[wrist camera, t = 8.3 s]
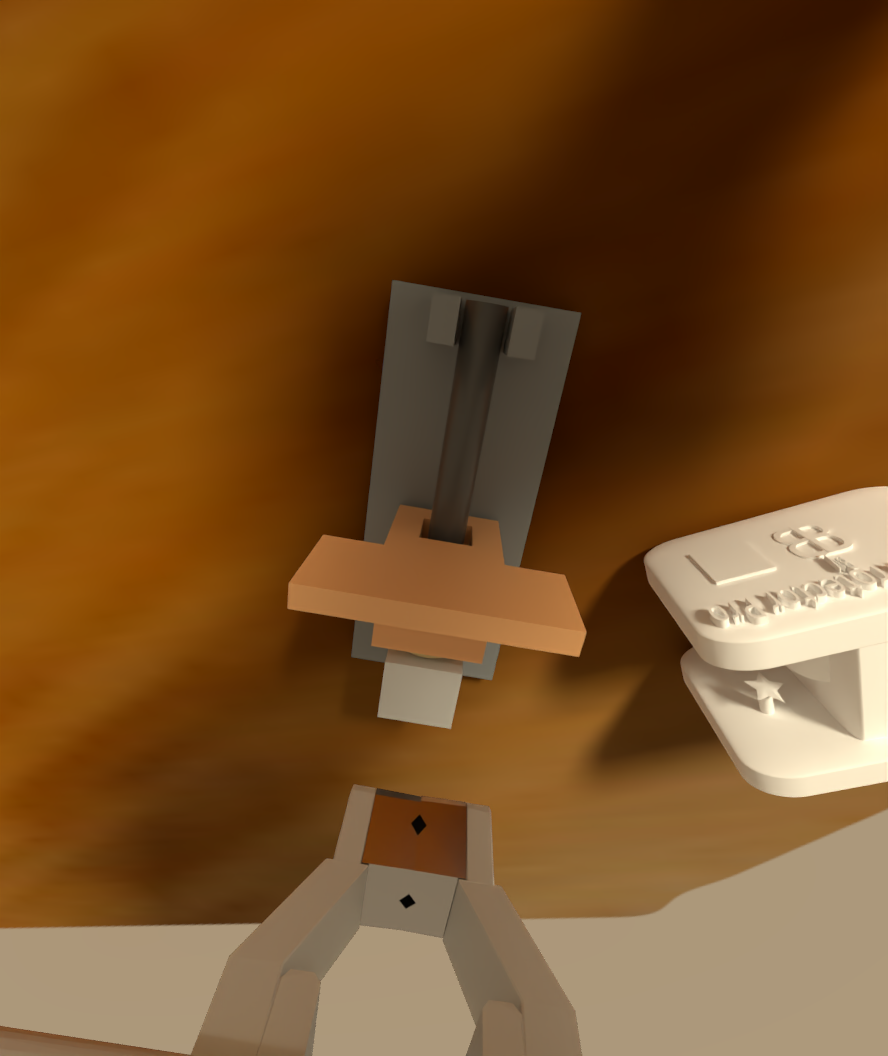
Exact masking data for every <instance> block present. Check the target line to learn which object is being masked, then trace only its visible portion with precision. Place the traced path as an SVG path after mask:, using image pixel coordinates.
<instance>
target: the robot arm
mask: <svg viewBox="0 0 888 1056" xmlns="http://www.w3.org/2000/svg"><path fill="white" fill-rule="evenodd" d="M359 925H363V926H372V927H380V928H388V929H396V930H403V931H408V932H414V933H419V934H424V935H429V936H435V937H440V938H443V942H444V945H445V948H446V950H447V953H448V955H449V958H450V960H451V963H452V966H453V968H454V971H455V973H456V976H457V978H458V981H459V983H460V986H461V989H462V991H463V994H464V996H465V999H466V1002H467V1004H468V1006H469V1009H470V1012H471V1014H472V1017H473V1020H474V1022H475V1025H476V1029H475V1031H474V1034H473V1037H472V1040H471V1043H470V1045H469V1048H468V1051H467V1054H466V1056H582V1052H581V1046H580V1039H579V1033H578V1026H577V1019H576V1013H575V1010H574V1008H573V1006H572V1005H571V1003H570V1001H569V1000H568V998H567V996H566V995H565V993H564V991H563V990H562V988H561V986H560V985H559V983H558V981H557V980H556V978H555V976H554V974H553V973H552V971H551V969H550V968H549V966H548V964H547V963H546V961H545V959H544V958H543V956H542V954H541V952H540V951H539V949H538V947H537V946H536V944H535V942H534V941H533V939H532V937H531V936H530V934H529V932H528V930H527V929H526V927H525V926H524V924H523V922H522V920H521V919H520V917H519V915H518V914H517V912H516V910H515V909H514V907H513V905H512V903H511V902H510V900H509V898H508V897H507V895H506V893H505V892H504V890H503V888H502V887H501V886H498V885H494V869H493V846H492V824H491V810H490V808H489V806H483V805H477V804H471V803H465V802H461V801H455V800H448V799H441V798H434V797H427V796H421V797H420V796H415V795H410V794H404V793H399V792H394V791H389V790H383V789H378V788H377V790H376V788H372V787H366V786H361V785H355V784H354V785H353V787H352V790H351V792H350V796H349V800H348V804H347V807H346V811H345V815H344V819H343V823H342V827H341V831H340V834H339V838H338V842H337V846H336V850H335V854H334V858H333V859H328V858H326V859H325V860H324V861H323V862H322V863H321V864H320V865H319V866H318V867H317V868H316V869H315V870H314V871H313V872H312V873H311V874H310V875H309V876H308V877H307V878H306V879H305V880H304V881H303V882H302V883H301V884H300V885H299V886H298V887H297V888H296V889H295V890H294V891H293V892H292V893H291V894H290V895H289V896H288V897H287V898H286V899H285V900H284V901H283V902H282V903H281V904H280V905H279V906H278V907H277V908H276V909H275V910H274V911H273V912H272V913H271V914H270V915H269V916H268V917H267V918H266V919H265V921H264V922H263V923H262V924H261V925H260V926H259V927H258V928H257V929H256V930H255V931H254V932H253V933H252V934H251V935H250V936H249V937H248V938H247V939H246V940H245V941H244V942H243V943H242V944H241V945H240V946H239V947H238V948H237V949H236V950H235V951H234V952H233V953H232V954H231V955H230V956H229V958H228V961H227V964H226V966H225V969H224V971H223V974H222V976H221V979H220V981H219V984H218V987H217V989H216V992H215V994H214V997H213V999H212V1002H211V1005H210V1007H209V1010H208V1012H207V1015H206V1017H205V1020H204V1023H203V1025H202V1028H201V1030H200V1033H199V1035H198V1038H197V1041H196V1043H195V1046H194V1048H193V1051H192V1053H191V1055H187V1054H180V1053H174V1052H167V1051H160V1050H153V1049H147V1048H141V1047H135V1046H127V1045H121V1044H114V1043H108V1042H102V1041H95V1040H88V1039H82V1038H75V1037H69V1036H62V1035H56V1034H49V1033H43V1032H36V1031H30V1030H23V1029H16V1028H10V1027H3V1026H0V1056H312V1052H313V1043H314V1034H315V1027H316V1018H317V1010H318V1001H319V992H320V984H321V982H320V981H321V980H322V978H323V977H324V976H325V974H326V973H327V971H328V970H329V969H330V968H331V966H332V965H333V963H334V962H335V961H336V959H337V958H338V957H339V955H340V954H341V952H342V951H343V950H344V948H345V947H346V945H347V944H348V943H349V941H350V940H351V939H352V937H353V936H354V935H355V933H356V932H357V930H358V929H359Z"/></svg>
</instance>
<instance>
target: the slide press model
mask: <svg viewBox="0 0 888 1056" xmlns="http://www.w3.org/2000/svg"><path fill="white" fill-rule="evenodd" d="M580 317H581V313H579V312H573V311H568V310H562V309H556V308H551V307H545V306H539V305H533V304H528V303H522V302H516V301H511V300H505V299H499V298H493V297H488V296H482V295H476V294H471V293H465V292H459V291H454V290H448V289H442V288H436V287H431V286H425V285H419V284H414V283H408V282H402V281H396V280H392V288H391V297H390V307H389V316H388V325H387V334H386V343H385V352H384V361H383V371H382V380H381V389H380V398H379V407H378V416H377V425H376V434H375V444H374V453H373V462H372V471H371V480H370V489H369V498H368V507H367V517H366V526H365V535H364V541H365V542H371V543H377V544H383V545H384V543H385V541H386V538H387V536H388V533H389V531H390V528H391V526H392V523H393V521H394V518H395V516H396V513H397V511H398V508H399V506H400V505H406V506H412V507H418V508H424V509H430V510H432V513H431V520H430V526H429V532H428V538H427V539H432V540H438V541H444V542H450V543H456V544H462V545H463V543H464V538H465V533H466V528H467V523H468V517H469V516H471V517H477V518H483V519H489V520H495V521H498V522H499V529H500V536H501V543H502V550H503V557H504V563H505V565H508V566H514V567H520V563H521V559H522V555H523V551H524V546H525V542H526V538H527V534H528V530H529V526H530V522H531V518H532V514H533V510H534V505H535V501H536V497H537V493H538V489H539V485H540V481H541V477H542V473H543V469H544V464H545V460H546V456H547V452H548V448H549V444H550V440H551V436H552V432H553V428H554V424H555V419H556V415H557V411H558V407H559V403H560V399H561V395H562V391H563V387H564V383H565V378H566V374H567V370H568V366H569V362H570V358H571V354H572V350H573V346H574V342H575V337H576V333H577V329H578V325H579V321H580ZM373 627H374V623H370V622H364V621H358V620H355V626H354V635H353V644H352V654H351V657H354V658H360V659H366V660H372V661H378V662H384V663H385V666H384V673H383V680H382V687H381V694H380V701H379V709H378V716H377V717H381V718H387V719H393V720H400V721H406V722H412V723H418V724H424V725H430V726H436V727H443V728H449V729H451V725H452V721H453V716H454V711H455V707H456V702H457V698H458V693H459V688H460V684H461V679H462V675H463V676H469V677H475V678H481V679H488V680H492V678H493V673H494V669H495V665H496V661H497V657H498V653H499V649H500V645H501V644H497V643H491V642H487V644H486V648H485V652H484V657H483V661H482V664H478V663H472V662H466V661H460V660H454V659H448V658H442V657H436V656H430V655H424V654H418V653H412V652H406V651H399V650H393V649H387V648H381V647H375V646H371V643H372V635H373Z"/></svg>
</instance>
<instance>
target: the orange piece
mask: <svg viewBox="0 0 888 1056" xmlns="http://www.w3.org/2000/svg"><path fill="white" fill-rule="evenodd" d="M431 513H432V510H430V509H424V508H418V507H412V506H406V505H400V506H399V508H398V511H397V513H396V516H395V518H394V521H393V523H392V526H391V528H390V531H389V533H388V536H387V538H386V541H385V543H384V545H383V544H377V543H371V542H365V541H359V540H353V539H347V538H341V537H335V536H329V535H323V536H322V537H321V538H320V540H319V541H318V543H317V544H316V545H315V547H314V548H313V550H312V551H311V552H310V554H309V555H308V557H307V558H306V559H305V561H304V562H303V564H302V565H301V566H300V568H299V569H298V571H297V572H296V573H295V575H294V576H293V578H292V579H291V580H290V582H289V587H288V607H287V609H291V610H298V611H304V612H310V613H316V614H322V615H328V616H334V617H340V618H346V619H352V620H358V621H364V622H370V623H374V627H373V635H372V643H371V646H375V647H381V648H387V649H393V650H399V651H406V652H412V653H418V654H424V655H430V656H436V657H442V658H448V659H454V660H460V661H466V662H472V663H478V664H482V661H483V657H484V652H485V648H486V644H487V642H491V643H497V644H503V645H509V646H515V647H521V648H527V649H534V650H540V651H546V652H552V653H558V654H564V655H570V656H576V657H579V655H580V652H581V649H582V646H583V643H584V640H585V636H586V633H587V632H586V629H585V627H584V624H583V621H582V619H581V616H580V613H579V611H578V608H577V606H576V603H575V600H574V598H573V595H572V593H571V590H570V587H569V585H568V582H567V580H566V577H565V575H562V574H556V573H550V572H544V571H538V570H532V569H526V568H520V567H514V566H508V565H505V563H504V557H503V550H502V543H501V536H500V529H499V522H498V521H495V520H489V519H483V518H477V517H471V516H469V517H468V523H467V528H466V533H465V538H464V543H463V545H462V544H456V543H450V542H444V541H438V540H432V539H427V538H428V532H429V526H430V520H431Z"/></svg>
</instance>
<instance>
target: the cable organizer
mask: <svg viewBox="0 0 888 1056" xmlns="http://www.w3.org/2000/svg"><path fill="white" fill-rule="evenodd" d="M644 565H645V569H646V574H647V578H648V582H649V584H650V586H651V587H652V588H653V590H654V591H655V593H656V594H657V596H658V597H659V598H660V600H661V601H662V603H663V604H664V606H665V607H666V608H667V610H668V611H669V613H670V614H671V616H672V617H673V618H674V620H675V621H676V623H677V624H678V626H679V627H680V628H681V630H682V631H683V633H684V634H685V636H686V637H687V638H688V640H689V641H690V643H691V644H692V646H693V647H692V648H691V649H689V650H688V651H687V652H685V653H684V655H683V656H682V658H681V661H680V664H681V669H682V674H683V679H684V682H685V684H686V685H687V687H688V689H689V690H690V692H691V694H692V695H693V697H694V698H695V700H696V702H697V703H698V705H699V707H700V708H701V710H702V712H703V713H704V715H705V717H706V718H707V720H708V722H709V723H710V725H711V727H712V728H713V730H714V732H715V733H716V735H717V736H718V738H719V740H720V741H721V743H722V745H723V746H724V748H725V750H726V751H727V753H728V755H729V756H730V758H731V760H732V761H733V763H734V765H735V766H736V768H737V770H738V771H739V773H740V774H741V776H742V777H743V778H744V779H745V780H746V781H747V782H748V783H749V784H750V785H752V786H753V787H755V788H757V789H759V790H761V791H763V792H766V793H769V794H773V795H777V796H783V797H806V796H812V795H817V794H823V793H828V792H833V791H839V790H844V789H850V788H855V787H860V786H866V785H871V784H877V783H882V782H887V781H888V486H884V487H870V488H862V489H856V490H852V491H847V492H843V493H840V494H836V495H833V496H829V497H825V498H822V499H818V500H815V501H811V502H807V503H804V504H800V505H796V506H793V507H789V508H786V509H782V510H778V511H775V512H771V513H767V514H764V515H760V516H757V517H753V518H749V519H746V520H742V521H739V522H735V523H731V524H728V525H724V526H720V527H717V528H713V529H710V530H706V531H702V532H699V533H695V534H691V535H688V536H684V537H681V538H677V539H673V540H670V541H667V542H665V543H662V544H660V545H658V546H656V547H654V548H653V549H651V550H650V551H649V552H648V553H647V554H646V555H645V557H644Z"/></svg>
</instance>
